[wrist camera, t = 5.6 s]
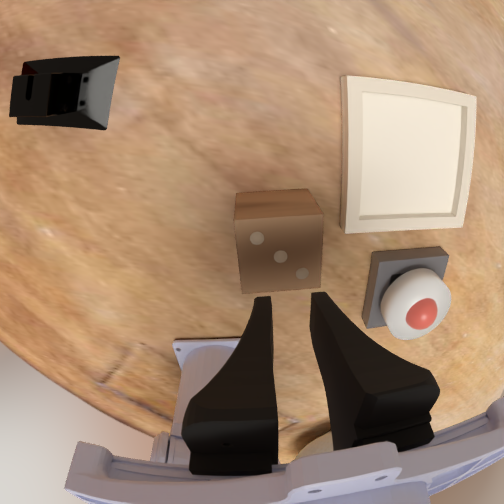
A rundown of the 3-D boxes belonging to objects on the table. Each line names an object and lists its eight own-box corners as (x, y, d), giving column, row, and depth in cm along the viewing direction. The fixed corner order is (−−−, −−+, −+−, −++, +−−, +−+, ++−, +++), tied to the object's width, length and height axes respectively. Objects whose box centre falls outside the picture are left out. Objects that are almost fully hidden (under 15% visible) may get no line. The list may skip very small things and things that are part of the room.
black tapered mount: (144, 48, 16) (118, 38, 12) (126, 145, 20) (99, 158, 16) (16, 54, 15) (-19, 55, 11) (7, 135, 18) (-27, 147, 14)
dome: (423, 308, 26) (445, 343, 22) (369, 316, 26) (386, 355, 22) (438, 255, 23) (467, 287, 19) (379, 260, 23) (404, 297, 19)
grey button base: (423, 308, 27) (430, 318, 25) (361, 317, 27) (366, 328, 26) (440, 246, 23) (449, 255, 22) (372, 252, 24) (379, 262, 22)
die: (307, 250, 24) (320, 288, 19) (242, 254, 24) (241, 294, 19) (307, 188, 21) (323, 214, 17) (236, 192, 21) (233, 220, 17)
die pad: (453, 220, 22) (462, 227, 21) (339, 225, 22) (345, 233, 21) (465, 95, 17) (476, 96, 16) (340, 76, 17) (346, 75, 16)
